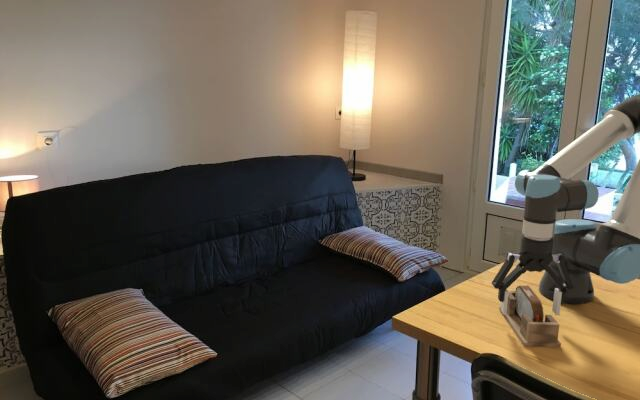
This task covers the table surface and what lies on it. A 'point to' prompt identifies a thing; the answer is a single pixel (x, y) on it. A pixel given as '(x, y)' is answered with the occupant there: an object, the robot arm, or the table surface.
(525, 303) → the tin
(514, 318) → the rack
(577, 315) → the table surface
